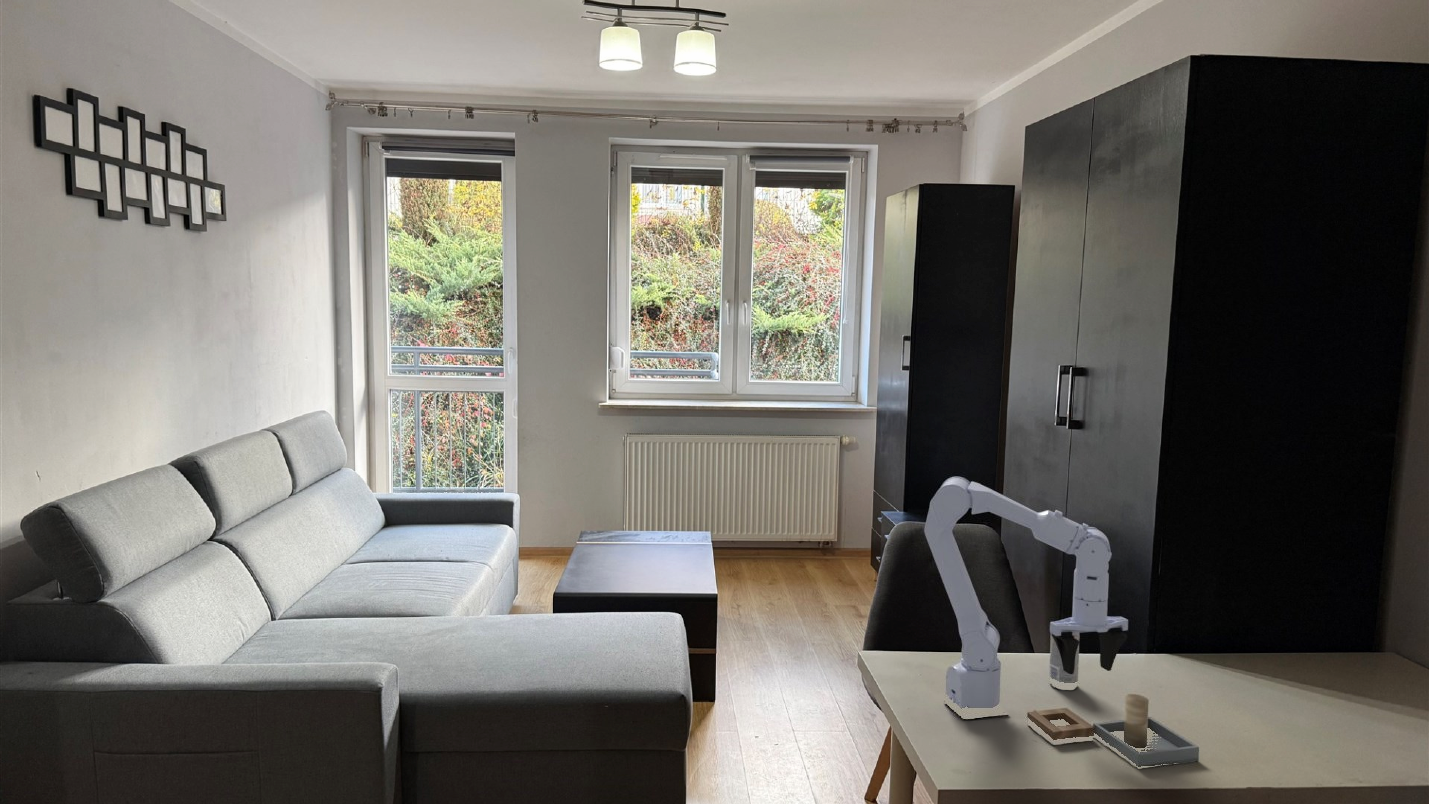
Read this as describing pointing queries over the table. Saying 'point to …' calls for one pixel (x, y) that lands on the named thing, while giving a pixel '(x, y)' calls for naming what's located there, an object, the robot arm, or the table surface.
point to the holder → (1075, 728)
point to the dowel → (1136, 720)
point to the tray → (1167, 747)
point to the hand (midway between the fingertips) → (1087, 670)
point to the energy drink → (1057, 666)
